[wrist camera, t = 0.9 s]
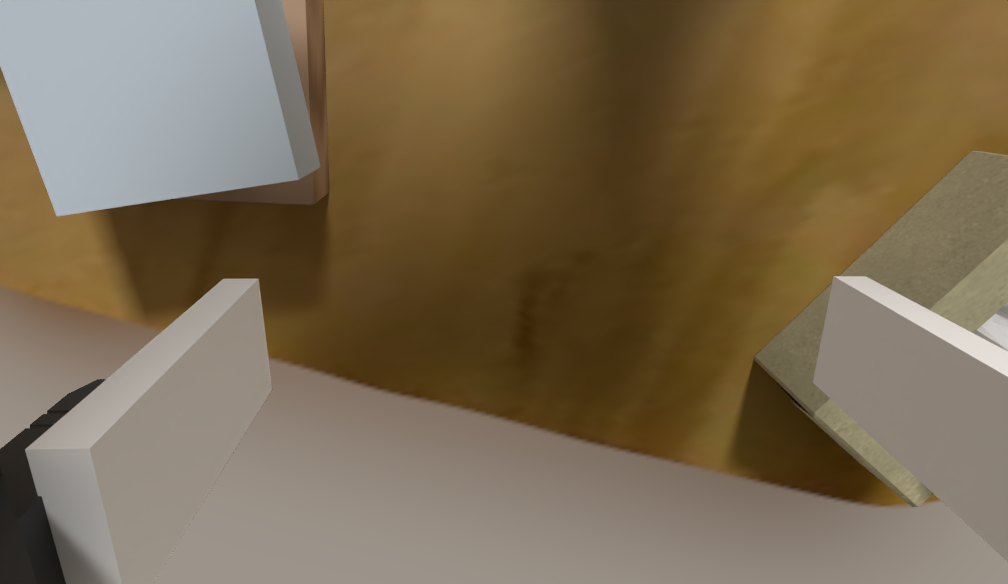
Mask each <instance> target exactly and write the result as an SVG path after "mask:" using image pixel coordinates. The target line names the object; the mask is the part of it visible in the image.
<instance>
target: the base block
mask: <svg viewBox="0 0 1008 584" xmlns="http://www.w3.org/2000/svg"><path fill="white" fill-rule="evenodd" d="M282 4H283V8H284V12H285V16H286V21H287V25H288V29H289V33H290V38H291V42H292V46H293V51H294V55H295V59H296V63H297V68H298V72H299V76H300V81H301V85H302V89H303V93H304V98H305V102H306V106H307V110H308V115H309V119H310V123H311V128H312V132H313V136H314V140H315V145H316V149H317V153H318V158H319V162H320V166H321V167H320V168H318V169H316V170H315V171H313V172H311V173H309V174H308V175H306V176H304V177H303V178H301V179H299V180H294V181H287V182H281V183H274V184H267V185H261V186H254V187H248V188H241V189H234V190H228V191H221V192H215V193H208V194H201V195H195V196H188V197H181V198H175V199H187V200H210V201H232V202H255V203H277V204H300V205H314V204H315V203H317V202H318V201H319V200H320V199H322V198H323V197H324V196H325V195H326V194H328V193H329V165H328V133H327V100H326V68H325V36H324V3H323V0H282Z"/></svg>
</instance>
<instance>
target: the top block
mask: <svg viewBox="0 0 1008 584" xmlns="http://www.w3.org/2000/svg"><path fill="white" fill-rule="evenodd" d="M0 67H1V70H2V72H3V75H4V78H5V80H6V83H7V85H8V88H9V91H10V93H11V96H12V99H13V101H14V104H15V107H16V109H17V112H18V115H19V117H20V120H21V123H22V125H23V128H24V131H25V133H26V136H27V139H28V141H29V144H30V146H31V149H32V152H33V154H34V157H35V160H36V162H37V165H38V168H39V170H40V173H41V176H42V178H43V181H44V184H45V186H46V189H47V192H48V194H49V197H50V200H51V202H52V205H53V207H54V210H55V213H56V215H57V216H62V215H69V214H76V213H82V212H89V211H95V210H102V209H109V208H115V207H122V206H128V205H135V204H142V203H148V202H155V201H162V200H168V199H175V198H181V197H188V196H195V195H201V194H208V193H215V192H221V191H228V190H234V189H241V188H248V187H254V186H261V185H267V184H274V183H281V182H287V181H294V180H299V179H301V178H303V177H304V176H306V175H308V174H309V173H311V172H313V171H315V170H316V169H318V168H320V167H321V166H320V162H319V158H318V153H317V149H316V145H315V140H314V136H313V132H312V128H311V123H310V119H309V115H308V110H307V106H306V102H305V98H304V93H303V89H302V85H301V81H300V76H299V72H298V68H297V63H296V59H295V55H294V51H293V46H292V42H291V38H290V33H289V29H288V25H287V21H286V16H285V12H284V8H283V4H282V0H0Z"/></svg>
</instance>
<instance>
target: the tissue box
mask: <svg viewBox="0 0 1008 584" xmlns="http://www.w3.org/2000/svg"><path fill="white" fill-rule="evenodd" d="M840 276H866V277H868V278H870V279H872V280H874V281H875V282H877V283H879V284H881V285H883V286H885V287H887V288H889V289H891V290H892V291H894V292H896V293H898V294H900V295H902V296H904V297H906V298H908V299H909V300H911V301H913V302H915V303H917V304H919V305H921V306H923V307H925V308H926V309H928V310H930V311H932V312H934V313H936V314H938V315H940V316H941V317H943V318H945V319H947V320H949V321H951V322H953V323H955V324H957V325H958V326H960V327H962V328H964V329H966V330H968V331H970V332H972V333H974V334H975V335H977V336H979V337H981V338H983V339H985V340H987V341H989V342H990V343H992V344H994V345H996V346H998V347H1000V348H1002V349H1004V350H1006V351H1007V352H1008V155H1002V154H995V153H988V152H981V151H971V152H970V153H969V154H968V155H967V156H966V157H965V158H964V159H962V160H961V161H960V162H959V163H958V164H957V165H956V166H955V167H954V168H953V169H952V170H951V171H950V172H949V173H948V174H947V175H946V176H945V177H943V178H942V179H941V180H940V181H939V182H938V183H937V184H936V185H935V186H934V187H933V188H932V189H931V190H930V191H929V192H928V193H927V194H926V195H924V196H923V197H922V198H921V199H920V200H919V201H918V202H917V203H916V204H915V205H914V206H913V207H912V208H911V209H910V210H909V211H908V212H906V213H905V214H904V215H903V216H902V217H901V218H900V219H899V220H898V221H897V222H896V223H895V224H894V225H893V226H892V227H891V228H890V229H889V230H887V231H886V232H885V233H884V234H883V235H882V236H881V237H880V238H879V239H878V240H877V241H876V242H875V243H874V244H873V245H872V246H871V247H870V248H868V249H867V250H866V251H865V252H864V253H863V254H862V255H861V256H860V257H859V258H858V259H857V260H856V261H855V262H854V263H853V264H852V265H850V266H849V267H848V268H847V269H846V270H845V271H844V272H843V273H842V274H841V275H840ZM831 288H832V283H831V284H830V285H829V286H828V287H827V288H826V289H825V290H824V291H823V292H822V293H821V294H820V295H819V296H818V297H817V298H816V299H815V300H814V301H812V302H811V303H810V304H809V305H808V306H807V307H806V308H805V309H804V310H803V311H802V312H801V313H800V314H799V315H798V316H797V317H796V318H794V319H793V320H792V321H791V322H790V323H789V324H788V325H787V326H786V327H785V328H784V329H783V330H782V331H781V332H780V333H779V334H778V335H777V336H775V337H774V338H773V339H772V340H771V341H770V342H769V343H768V344H767V345H766V346H765V347H764V348H763V349H762V350H761V351H760V352H759V353H758V354H756V355H755V361H756V362H757V363H758V364H759V365H760V366H761V367H762V368H763V369H764V370H765V371H766V372H767V373H768V374H769V375H770V376H771V377H772V378H773V379H774V380H775V381H776V382H777V383H778V385H779V386H780V387H781V388H782V389H783V390H784V391H785V392H786V393H787V394H788V395H789V396H790V397H791V398H792V399H793V400H794V401H795V402H796V403H797V404H798V405H800V406H801V407H802V408H803V409H804V410H805V411H806V412H805V411H804V410H803V409H801V408H800V407H799V406H797V405H796V404H795V403H793V402H792V401H791V400H790V401H791V402H792V403H793V404H795V405H796V406H797V407H798V408H799V409H800V410H801V411H802V412H803V413H805V414H806V415H807V416H808V417H809V418H810V419H811V420H812V421H813V422H815V423H816V424H817V425H818V426H819V427H820V428H821V429H822V430H823V431H825V432H826V433H827V434H828V435H829V436H830V437H831V438H832V439H833V440H835V441H836V442H837V443H838V444H839V445H840V446H841V447H842V448H843V449H845V450H846V451H847V452H848V453H849V454H850V455H851V456H852V457H853V458H855V459H856V460H857V461H858V462H859V463H860V464H861V465H863V466H864V467H865V468H866V469H867V470H869V471H870V472H871V473H872V474H873V475H875V476H876V477H877V478H878V479H879V480H881V481H882V482H883V483H884V484H885V485H887V486H888V487H889V488H890V489H891V490H893V491H894V492H895V493H896V494H898V495H899V496H900V497H901V498H902V499H904V500H905V501H906V502H907V503H908V504H910V505H911V506H912V507H918V506H919V505H920V504H922V503H923V502H924V501H925V500H926V499H928V498H929V497H930V496H931V495H933V493H932V492H931V491H930V490H929V489H928V488H927V487H926V486H925V485H924V484H922V483H921V482H920V481H919V480H918V479H917V478H916V477H915V476H914V475H913V474H912V473H911V472H909V471H908V470H907V469H906V468H905V467H904V466H903V465H902V464H901V463H900V462H899V461H898V460H896V459H895V458H894V457H893V456H892V455H891V454H890V453H889V452H888V451H887V450H886V449H885V448H883V447H882V446H881V445H880V444H879V443H878V442H877V441H876V440H875V439H874V438H873V437H871V436H870V435H869V434H868V433H867V432H866V431H865V430H864V429H863V428H862V427H861V426H860V425H858V424H857V423H856V422H855V421H854V420H853V419H852V418H851V417H850V416H849V415H848V414H847V413H845V412H844V411H843V410H842V409H841V408H840V407H839V406H838V405H837V404H836V403H835V402H834V401H832V400H831V399H830V398H829V397H828V396H827V395H826V394H825V393H824V392H823V391H822V390H821V389H819V388H818V387H817V386H816V385H815V384H814V383H813V379H814V374H815V369H816V364H817V359H818V354H819V349H820V343H821V338H822V333H823V328H824V323H825V318H826V313H827V308H828V303H829V298H830V293H831ZM809 414H810V415H809Z"/></svg>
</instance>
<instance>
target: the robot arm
mask: <svg viewBox="0 0 1008 584" xmlns="http://www.w3.org/2000/svg"><path fill="white" fill-rule="evenodd" d="M813 383H814V384H815V385H816V386H817V387H818V388H819V389H821V390H822V391H823V392H824V393H825V394H826V395H827V396H828V397H829V398H830V399H831V400H832V401H834V402H835V403H836V404H837V405H838V406H839V407H840V408H841V409H842V410H843V411H844V412H845V413H847V414H848V415H849V416H850V417H851V418H852V419H853V420H854V421H855V422H856V423H857V424H858V425H860V426H861V427H862V428H863V429H864V430H865V431H866V432H867V433H868V434H869V435H870V436H871V437H873V438H874V439H875V440H876V441H877V442H878V443H879V444H880V445H881V446H882V447H883V448H885V449H886V450H887V451H888V452H889V453H890V454H891V455H892V456H893V457H894V458H895V459H896V460H898V461H899V462H900V463H901V464H902V465H903V466H904V467H905V468H906V469H907V470H908V471H909V472H911V473H912V474H913V475H914V476H915V477H916V478H917V479H918V480H919V481H920V482H921V483H922V484H924V485H925V486H926V487H927V488H928V489H929V490H930V491H931V492H932V493H933V494H934V495H935V496H937V497H938V498H939V499H940V500H941V501H942V502H943V503H944V504H945V505H946V506H948V507H949V508H950V509H951V510H952V511H953V512H954V513H955V514H956V515H957V516H958V517H959V518H961V519H962V520H963V521H964V522H965V523H966V524H967V525H968V526H969V527H970V528H971V529H972V530H974V531H975V532H976V533H977V534H978V535H979V536H980V537H981V538H982V539H983V540H984V541H985V542H987V543H988V544H989V545H990V546H991V547H992V548H993V549H994V550H995V551H996V552H997V553H998V554H1000V555H1001V556H1002V557H1003V558H1004V559H1005V560H1006V561H1007V562H1008V352H1007V351H1006V350H1004V349H1002V348H1000V347H998V346H996V345H994V344H992V343H990V342H989V341H987V340H985V339H983V338H981V337H979V336H977V335H975V334H974V333H972V332H970V331H968V330H966V329H964V328H962V327H960V326H958V325H957V324H955V323H953V322H951V321H949V320H947V319H945V318H943V317H941V316H940V315H938V314H936V313H934V312H932V311H930V310H928V309H926V308H925V307H923V306H921V305H919V304H917V303H915V302H913V301H911V300H909V299H908V298H906V297H904V296H902V295H900V294H898V293H896V292H894V291H892V290H891V289H889V288H887V287H885V286H883V285H881V284H879V283H877V282H875V281H874V280H872V279H870V278H868V277H866V276H834V277H833V282H832V288H831V293H830V298H829V303H828V308H827V313H826V318H825V323H824V328H823V333H822V338H821V343H820V349H819V354H818V359H817V364H816V369H815V374H814V379H813ZM271 390H272V383H271V375H270V367H269V358H268V350H267V342H266V334H265V326H264V318H263V310H262V302H261V294H260V285H259V279H222V280H221V281H220V282H219V283H218V284H217V285H216V286H214V287H213V288H212V289H211V290H210V291H209V292H207V293H206V294H205V295H204V296H203V297H202V298H200V299H199V300H198V301H197V302H196V303H195V304H193V305H192V306H191V307H190V308H189V309H188V310H186V311H185V312H184V313H183V314H182V315H181V316H179V317H178V318H177V319H176V320H175V321H174V322H173V323H171V324H170V325H169V326H168V327H167V328H166V329H164V330H163V331H162V332H161V333H160V334H159V335H157V336H156V337H155V338H154V339H153V340H152V341H150V342H149V343H148V344H147V345H146V346H145V347H143V348H142V349H141V350H140V351H139V352H138V353H137V354H135V355H134V356H133V357H132V358H131V359H130V360H128V361H127V362H126V363H125V364H124V365H123V366H121V367H120V368H119V369H118V370H117V371H116V372H114V373H113V374H112V375H111V376H110V377H109V378H108V379H103V380H102V379H100V380H96V381H94V382H92V383H90V384H88V385H85V386H84V387H81V388H79V389H77V390H75V391H73V392H71V393H69V394H67V395H66V396H65V397H64V398H62V399H61V400H60V401H59V402H58V403H56V404H55V405H54V406H53V407H52V408H50V409H49V410H48V411H47V414H43V415H42V416H40V417H39V418H38V419H37V420H35V421H34V422H33V423H32V424H31V425H30V428H29V429H24V430H23V431H22V432H21V433H20V434H18V435H17V436H16V437H15V438H14V439H12V440H11V441H10V442H8V443H7V444H6V445H5V446H4V447H2V448H1V449H0V584H153V583H154V582H155V580H156V578H157V577H158V575H159V574H160V572H161V570H162V569H163V567H164V565H165V564H166V562H167V561H168V559H169V557H170V556H171V554H172V552H173V551H174V549H175V547H176V546H177V544H178V543H179V541H180V539H181V538H182V536H183V534H184V533H185V531H186V529H187V528H188V526H189V525H190V523H191V521H192V520H193V518H194V516H195V515H196V513H197V511H198V510H199V508H200V507H201V505H202V503H203V502H204V500H205V498H206V497H207V495H208V494H209V492H210V490H211V489H212V487H213V485H214V484H215V482H216V480H217V479H218V477H219V476H220V474H221V472H222V471H223V469H224V467H225V466H226V464H227V463H228V461H229V459H230V458H231V456H232V454H233V453H234V451H235V449H236V448H237V446H238V445H239V443H240V441H241V440H242V437H243V436H244V435H245V433H246V431H247V430H248V428H249V427H250V425H251V423H252V422H253V420H254V418H255V417H256V415H257V413H258V412H259V410H260V408H261V407H262V405H263V404H264V402H265V400H266V399H267V397H268V395H269V394H270V392H271Z"/></svg>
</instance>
